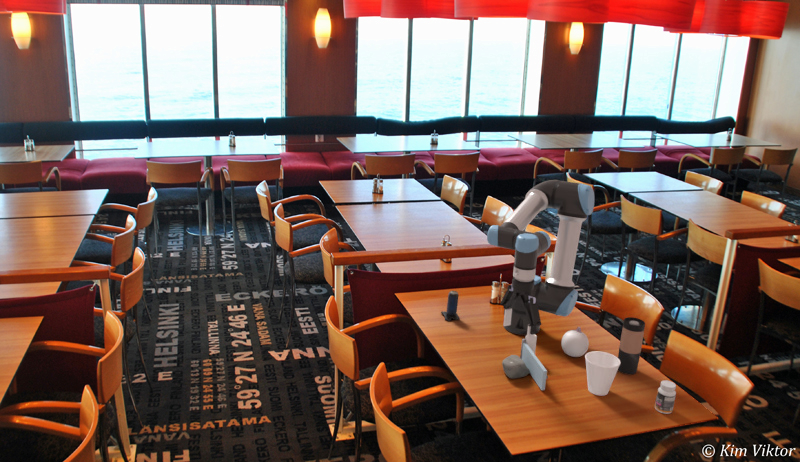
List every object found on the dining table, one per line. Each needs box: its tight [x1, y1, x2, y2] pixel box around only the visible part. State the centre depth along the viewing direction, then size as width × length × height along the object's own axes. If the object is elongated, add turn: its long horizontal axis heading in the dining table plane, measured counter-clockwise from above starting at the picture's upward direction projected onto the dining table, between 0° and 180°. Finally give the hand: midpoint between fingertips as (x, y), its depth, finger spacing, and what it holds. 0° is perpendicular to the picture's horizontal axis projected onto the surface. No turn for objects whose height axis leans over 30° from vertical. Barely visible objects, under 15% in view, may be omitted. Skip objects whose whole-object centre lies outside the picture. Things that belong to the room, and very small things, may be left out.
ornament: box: [560, 326, 590, 358], centre depth 245 cm, size 10×10×12 cm
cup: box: [584, 350, 621, 397], centre depth 220 cm, size 12×12×12 cm
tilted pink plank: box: [524, 334, 538, 355], centre depth 240 cm, size 4×2×10 cm, turn 117°
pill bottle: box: [654, 379, 677, 415], centre depth 210 cm, size 6×6×10 cm
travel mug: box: [617, 316, 646, 375], centre depth 234 cm, size 8×8×20 cm
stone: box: [501, 354, 530, 380], centre depth 230 cm, size 9×9×10 cm
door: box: [519, 338, 549, 391], centre depth 229 cm, size 23×3×8 cm, turn 9°
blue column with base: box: [440, 290, 461, 322], centre depth 274 cm, size 9×8×12 cm
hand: (518, 333), depth 224 cm, fingers open, 13 cm apart
